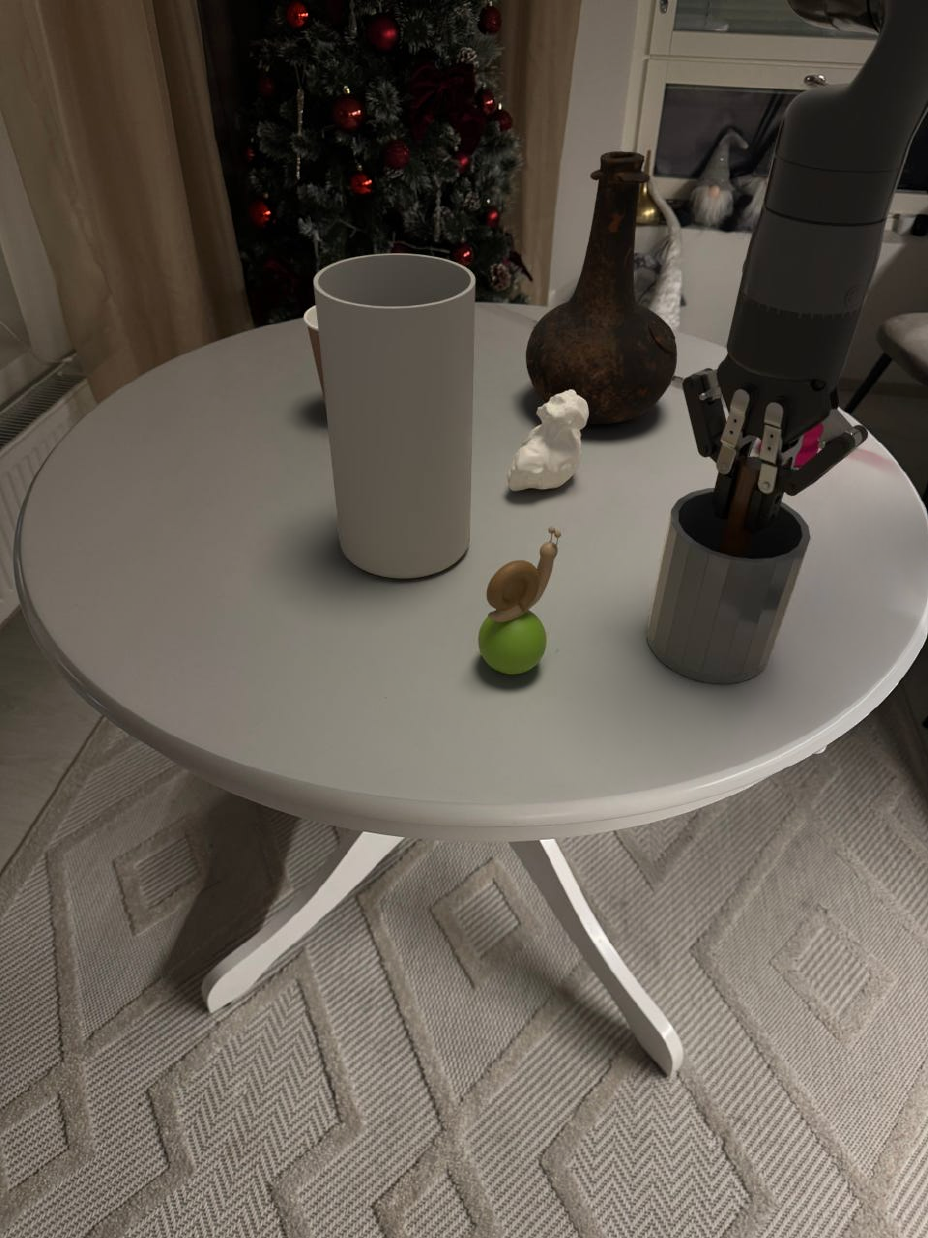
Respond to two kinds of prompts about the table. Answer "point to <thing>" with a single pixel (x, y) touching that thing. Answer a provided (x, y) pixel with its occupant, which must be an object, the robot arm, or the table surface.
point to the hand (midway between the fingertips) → (739, 520)
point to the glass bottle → (606, 314)
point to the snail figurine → (517, 613)
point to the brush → (740, 508)
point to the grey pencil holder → (722, 592)
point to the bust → (551, 445)
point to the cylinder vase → (399, 408)
